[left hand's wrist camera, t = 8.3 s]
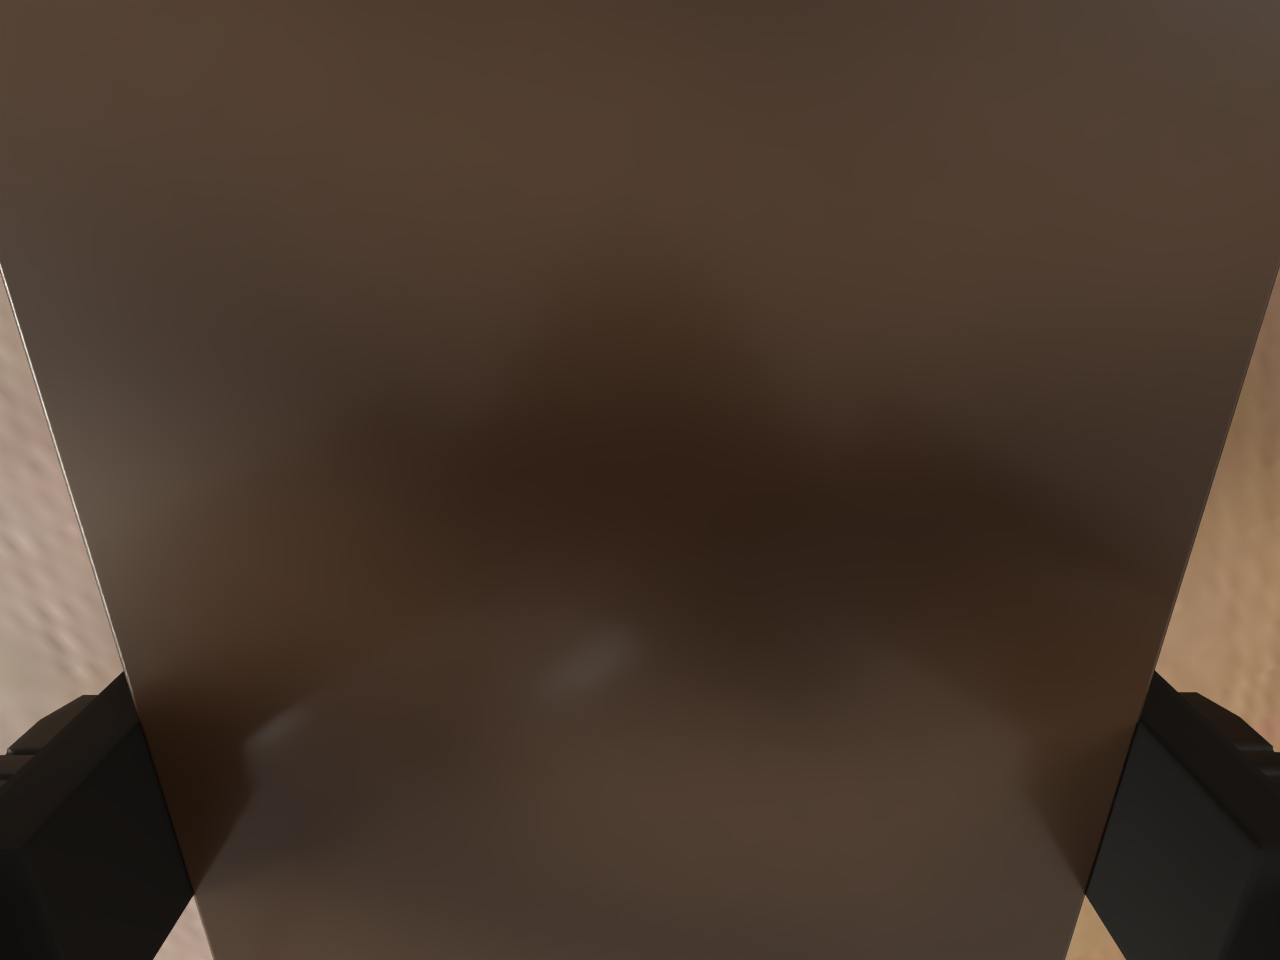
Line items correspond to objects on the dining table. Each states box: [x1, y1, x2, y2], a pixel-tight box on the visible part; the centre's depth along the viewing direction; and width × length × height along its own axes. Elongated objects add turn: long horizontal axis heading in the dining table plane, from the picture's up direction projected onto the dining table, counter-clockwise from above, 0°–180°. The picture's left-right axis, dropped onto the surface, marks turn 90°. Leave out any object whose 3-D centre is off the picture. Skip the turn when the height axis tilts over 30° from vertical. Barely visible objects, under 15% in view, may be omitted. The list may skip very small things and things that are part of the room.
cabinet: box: [0, 0, 1280, 960], centre depth 12 cm, size 16×11×10 cm
